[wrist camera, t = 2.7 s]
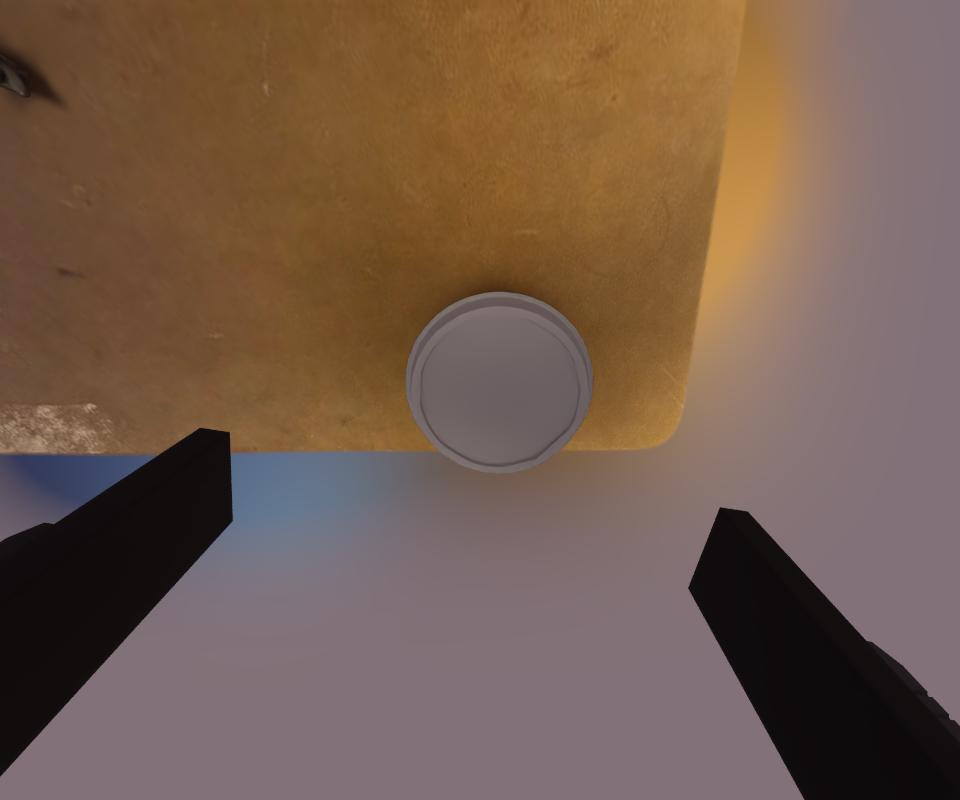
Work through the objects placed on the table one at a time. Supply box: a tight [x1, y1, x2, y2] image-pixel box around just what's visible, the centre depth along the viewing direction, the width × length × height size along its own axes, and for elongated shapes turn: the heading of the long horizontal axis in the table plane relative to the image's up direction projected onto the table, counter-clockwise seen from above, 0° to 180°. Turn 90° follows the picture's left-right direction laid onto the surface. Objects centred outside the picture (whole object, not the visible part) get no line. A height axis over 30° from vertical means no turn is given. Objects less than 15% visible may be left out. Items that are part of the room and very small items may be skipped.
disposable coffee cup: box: [406, 292, 593, 473], centre depth 28 cm, size 10×10×12 cm
